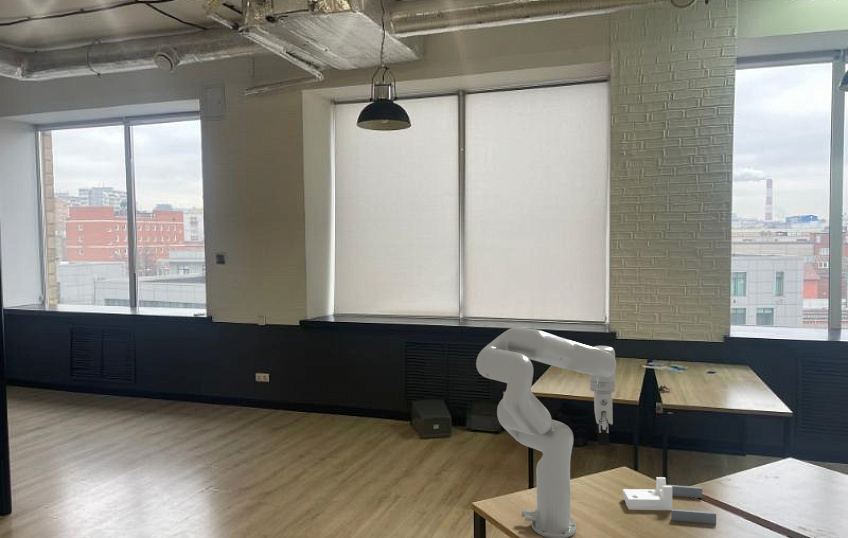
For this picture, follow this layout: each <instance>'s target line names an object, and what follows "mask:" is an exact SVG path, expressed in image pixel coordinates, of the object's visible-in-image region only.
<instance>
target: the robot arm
mask: <svg viewBox="0 0 848 538" xmlns="http://www.w3.org/2000/svg"><path fill="white" fill-rule="evenodd" d="M531 360H532V361H535V362H539V363H542V364H545V365H549V366H552V367H556V368H560V369H565V370H569V371H574V372H577V373H579V374H586V375H589V390H590V391H591V392H593V402H594V403H593V406H594V408H593V409H594V415H595V416H594V417H595V421H596V431H595V432H596V435H597V444H598V446H609V445H610V432H609V424H610V425H613V423H614V422H613V421H614V420H613V393H614V392H615V393H616V369H617V361H616V352H615V349H614V348H613V347H611V346H607V345H595V346H590V345H587V344H583V343H580V342H577V341H573V340H571V339H567V338H564V337H560V336H557V335H555V334H552V333H550V332H546V331H543V330H540V329H537V328H536V329H534V328H527V327H520V326H515V327H511V328H509V329H506V331H504V332H503V333H501V334H500V335H498V336H497V337H495V339H493V340H492V341H491V342H490V343H488V344H487V345H486V346H484V348H482V349H481V351H480V352H479V353H478V354H477V358H476V360H475V361H476V363H475V365H476V369H477V372H478V373H479V374H480V375H481V376H482V377H483V378H486V379H489V380H494V381H498V382H502V383H505V384H506V389H505V392H504V394H503V396H502V399H501V400H500V401H499V403H498V405H497V410H496V415H497V419H498V422H499V424H500V425H501V427H503V429H504V430H505V431H507V433H509V435H511V437H513V439H515V440H516V441H517V442H518V443H520V444H521V445H523V446H525V447H527V448H531V449H534V450H537V451H539V452H541V453H542V456H541V457H540V459H539V460H538V462H537V464H536V469H535V471H536V472H535V473H536V507H535V509H532V510H527V509H521V518H524V519H525V521H527V522H528V521H530V522H531V528H532V530H533V531H534V532H535V533H537V534H538V535H540V536H542V537H545V538H569V537H572V536H573V535H575V534H576V533H577V532H576V531H577V524H576V523H575V521H574V520H572V518H571V458H572V457H571V456H572V451H573V450H572V449H573V447H574V433H573V431H572V429H571V428H570V427H569V425H567V424H565V423H563V422H561V421H558V420H555V419H552V416H551V413H550V412H549V410H548V409H547V407H546V406H544V404H543V403H542V402H541V401H540V399H538V398H537V396H535V394H534V393H533V392H532V383H533V379H534V364H533V363H532V361H531Z"/></svg>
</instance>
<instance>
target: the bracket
mask: <svg viewBox="0 0 848 538" xmlns="http://www.w3.org/2000/svg"><path fill="white" fill-rule="evenodd" d="M655 479H656V481H655V483H656V484H655V489H647V488H646V489H644V488H643V489H640V488H638V489H637V488H633V489H632V488H631V489H630V488H623V489H622V499H623V500H624V501H625V505H626V507H627V509H628V510H629V511H630V510H631V511H634V510H635V511H637V510H638V511H671V509H673V496H672V486H667V485H668V484H667V478H666V477H664V476H663V477H662V476H659V477H658V476H656V477H655Z"/></svg>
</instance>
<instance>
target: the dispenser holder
mask: <svg viewBox="0 0 848 538" xmlns="http://www.w3.org/2000/svg"><path fill="white" fill-rule="evenodd" d="M666 485H667V486H672V497H677V496H678V497H686V498H687V497H688V498H698V499H700V498H701V499H702V498H703V487H701V486H690V485H689V486H688V485H677V484H676V485H674V484H666ZM670 512H671V514H670V515H671V519H670V520H671V521H677V522H689V523H690V522H691V523H697V524H698V523H700V524H701V523H702V524H712V525H716V524H717V513H716V511H703V510H690V509H680V508H679V509H678V508H672V509H671V510H670Z"/></svg>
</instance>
